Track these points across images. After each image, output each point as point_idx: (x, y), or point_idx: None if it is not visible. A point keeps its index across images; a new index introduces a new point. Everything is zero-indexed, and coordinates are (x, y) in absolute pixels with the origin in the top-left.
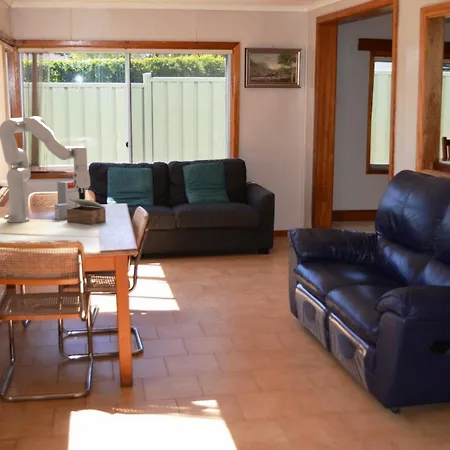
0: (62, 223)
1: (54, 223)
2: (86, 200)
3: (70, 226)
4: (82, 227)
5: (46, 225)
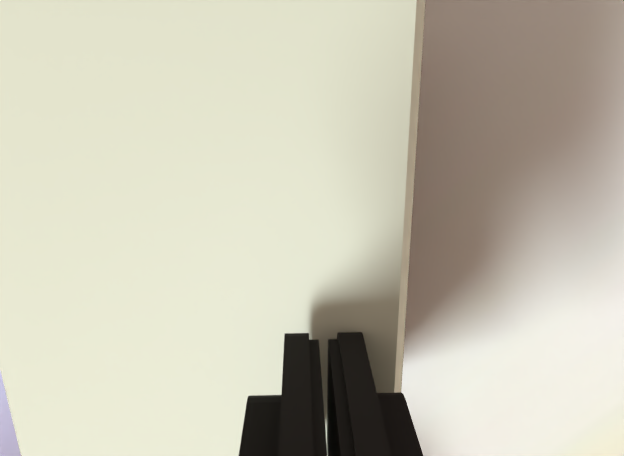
0: (451, 362)
1: (488, 418)
2: (410, 182)
3: (563, 178)
4: (561, 6)
5: (612, 407)
